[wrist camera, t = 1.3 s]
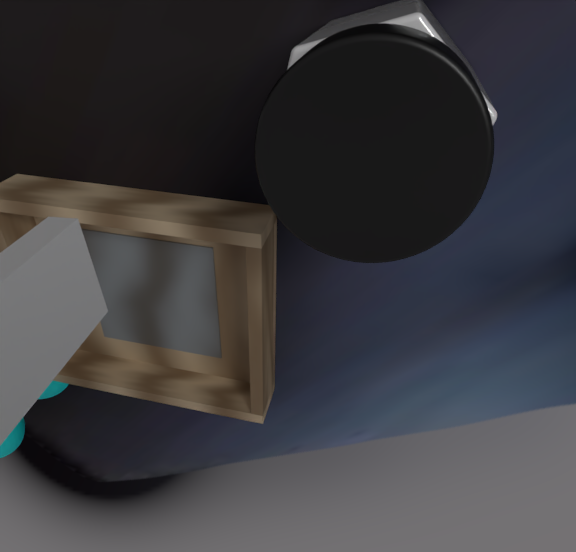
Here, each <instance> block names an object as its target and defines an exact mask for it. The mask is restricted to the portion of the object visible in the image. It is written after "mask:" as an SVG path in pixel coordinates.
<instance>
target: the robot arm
mask: <svg viewBox="0 0 576 552" xmlns="http://www.w3.org/2000/svg"><path fill="white" fill-rule="evenodd" d="M107 312H108V309H107V306H106V303H105V300H104V297H103V294H102V291H101V288H100V285H99V282H98V278H97V275H96V272H95V269H94V266H93V263H92V260H91V257H90V254H89V251H88V248H87V245H86V242H85V239H84V235H83V232H82V229H81V226H80V223H79V220H78V218H62V217H47V218H46V219H45V220H43V221H42V222H41V223H39V224H38V225H37V226H35V227H34V228H33V229H31V230H30V231H29V232H27V233H26V234H25V235H23V236H22V237H21V238H19V239H18V240H17V241H15V242H14V243H13V244H11V245H10V246H9V247H7V248H6V249H5V250H3V251H2V252H1V253H0V445H1V444H2V443H3V442H4V440H5V439H6V438H7V437H8V435H9V434H10V433H11V432H12V430H13V429H14V428H15V427H16V425H17V424H18V423H19V422H20V420H21V419H22V418H23V417H24V416H25V414H26V413H27V412H28V411H29V409H30V408H31V407H32V406H33V404H34V403H35V402H36V401H37V399H38V398H39V397H40V396H41V394H42V393H43V392H44V391H45V389H46V388H47V387H48V386H49V384H50V383H51V382H52V381H53V379H54V378H55V377H56V376H57V374H58V373H59V372H60V371H61V369H62V368H63V367H64V366H65V364H66V363H67V362H68V361H69V359H70V358H71V357H72V356H73V354H74V353H75V352H76V351H77V349H78V348H79V347H80V346H81V345H82V343H83V342H84V341H85V340H86V338H87V337H88V336H89V335H90V333H91V332H92V331H93V330H94V328H95V327H96V326H97V325H98V323H99V322H100V321H101V320H102V318H103V317H104V316H105V315H106V313H107Z"/></svg>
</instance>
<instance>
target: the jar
mask: <svg viewBox="0 0 576 552" xmlns="http://www.w3.org/2000/svg"><path fill="white" fill-rule="evenodd" d="M496 119H497V112H496V110H495V108H494V106H493V105H492V103H491V101H490V99H489V98H488V96H487V94H486V92H485V90H484V89H483V87H482V85H481V83H480V81H479V80H478V78H477V76H476V74H475V72H474V71H473V69H472V67H471V65H470V64H469V63H468V61H467V60H466V59H465V57H464V56H463V55H462V53H461V52H460V51H459V49H458V48H457V47H456V45H455V44H454V43H453V41H452V40H451V38H450V37H449V36H448V34H447V33H446V32H445V30H444V29H443V28H442V26H441V25H440V24H439V22H438V21H437V20H436V18H435V17H434V16H433V14H432V13H431V12H430V10H429V9H428V8H427V6H426V5H425V4H424V2H423V1H422V0H400V1H397V2H394V3H390V4H387V5H383V6H380V7H376V8H373V9H370V10H366V11H363V12H359V13H356V14H353V15H349V16H346V17H342V18H339V19H335V20H332V21H330V22H329V23H327V24H326V25H324V26H323V27H322V28H320V29H319V30H317V31H316V32H315V33H313V34H312V35H311V36H309V37H308V38H306V39H305V40H304V41H302V42H301V43H299V44H298V45H297V46H295V47H294V48H293V49H292V51H291V54H290V59H289V63H288V67H287V71H286V72H285V73H284V74H283V75H282V76H281V77H280V79H279V80H278V81H277V83H276V84H275V86H274V87H273V89H272V90H271V92H270V94H269V96H268V98H267V100H266V102H265V104H264V106H263V109H262V112H261V114H260V117H259V121H258V125H257V130H256V137H255V164H256V170H257V175H258V179H259V183H260V186H261V188H262V191H263V194H264V196H265V198H266V200H267V202H268V204H269V205H270V207H271V209H272V210H273V212H274V213H275V215H276V216H277V217H278V219H279V220H280V221H281V222H282V223H283V225H284V226H285V227H286V228H287V229H288V230H289V231H290V232H291V233H292V234H294V235H295V236H296V237H297V238H299V239H300V240H301V241H303V242H304V243H306V244H307V245H309V246H311V247H312V248H314V249H316V250H318V251H320V252H322V253H325V254H327V255H330V256H333V257H336V258H339V259H343V260H348V261H353V262H362V263H381V262H390V261H396V260H400V259H404V258H408V257H411V256H414V255H417V254H419V253H421V252H424V251H426V250H428V249H430V248H432V247H433V246H435V245H437V244H438V243H440V242H441V241H443V240H445V239H446V238H447V237H448V236H450V235H451V234H452V233H453V232H454V231H455V230H457V229H458V228H459V227H460V226H461V225H462V224H463V222H464V221H465V220H466V219H467V218H468V217H469V215H470V214H471V213H472V211H473V210H474V209H475V207H476V205H477V204H478V202H479V200H480V199H481V197H482V194H483V192H484V190H485V188H486V185H487V182H488V180H489V177H490V173H491V168H492V164H493V157H494V131H493V125H494V123H495V121H496Z"/></svg>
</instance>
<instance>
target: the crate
mask: <svg viewBox="0 0 576 552" xmlns="http://www.w3.org/2000/svg"><path fill="white" fill-rule="evenodd" d="M47 217H62V218H78V220H79V223H80V226H81V229H82V232H83V235H84V239H85V242H86V245H87V248H88V251H89V254H90V257H91V260H92V263H93V266H94V269H95V272H96V275H97V278H98V282H99V285H100V288H101V291H102V294H103V297H104V300H105V303H106V306H107V309H108V312H107V313H106V315H105V316H104V317H103V318H102V320H101V321H100V322H99V323H98V325H97V326H96V327H95V328H94V330H93V331H92V332H91V333H90V335H89V336H88V337H87V338H86V340H85V341H84V342H83V343H82V345H81V346H80V347H79V348H78V349H77V351H76V352H75V353H74V354H73V356H72V357H71V358H70V359H69V361H68V362H67V363H66V364H65V366H64V367H63V368H62V369H61V371H60V372H59V373H58V374H57V376H56V377H55V378H54V379H53V381H58V382H62V383H67V384H72V385H77V386H82V387H87V388H91V389H96V390H101V391H106V392H111V393H116V394H121V395H125V396H130V397H135V398H140V399H145V400H150V401H154V402H159V403H164V404H169V405H174V406H179V407H183V408H188V409H193V410H198V411H203V412H208V413H212V414H217V415H222V416H227V417H232V418H237V419H241V420H246V421H251V422H256V423H261V424H263V422H264V419H265V416H266V413H267V410H268V407H269V404H270V401H271V398H272V395H273V392H274V388H275V329H276V253H277V216H276V215H275V213H274V212H273V210H272V209H271V207H270V205H264V204H256V203H248V202H240V201H232V200H224V199H216V198H208V197H200V196H192V195H184V194H176V193H168V192H160V191H152V190H144V189H135V188H127V187H119V186H111V185H103V184H95V183H87V182H79V181H71V180H63V179H55V178H47V177H39V176H31V175H23V174H16V175H14V176H12V177H10V178H8V179H6V180H5V181H3V182H1V183H0V253H1V252H2V251H3V250H5V249H6V248H7V247H9V246H10V245H11V244H13V243H14V242H15V241H17V240H18V239H19V238H21V237H22V236H23V235H25V234H26V233H27V232H29V231H30V230H31V229H33V228H34V227H35V226H37V225H38V224H39V223H41V222H42V221H43V220H45V219H46V218H47Z"/></svg>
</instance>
